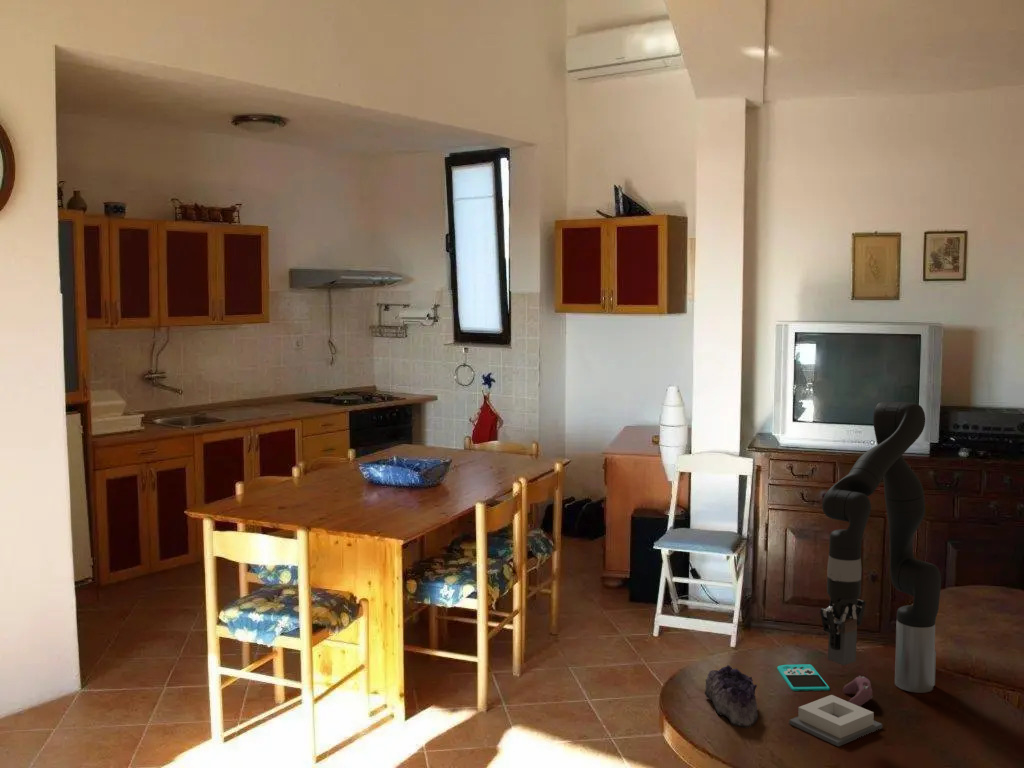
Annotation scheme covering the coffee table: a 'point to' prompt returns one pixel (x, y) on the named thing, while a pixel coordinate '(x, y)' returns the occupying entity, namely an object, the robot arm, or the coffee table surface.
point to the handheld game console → (802, 677)
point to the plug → (845, 643)
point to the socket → (835, 720)
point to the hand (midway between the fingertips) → (841, 646)
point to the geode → (733, 696)
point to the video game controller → (859, 690)
